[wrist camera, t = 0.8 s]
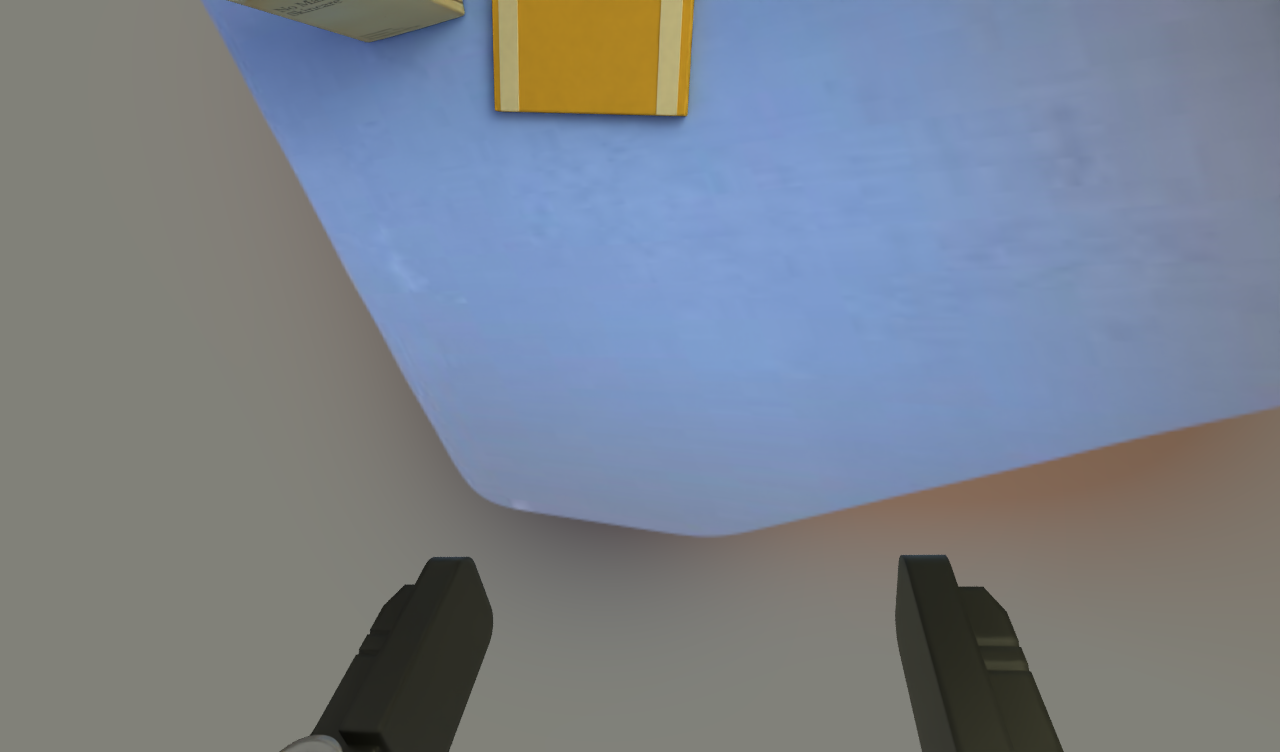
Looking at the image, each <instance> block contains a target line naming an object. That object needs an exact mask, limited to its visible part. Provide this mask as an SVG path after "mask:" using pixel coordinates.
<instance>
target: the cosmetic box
mask: <svg viewBox="0 0 1280 752" xmlns="http://www.w3.org/2000/svg"><path fill="white" fill-rule="evenodd" d="M228 1H231V2H235V3H238V4H241V5H245V6H248V7H252V8H255V9H258V10H262V11H265V12H268V13H271V14H275V15H278V16H281V17H285V18H288V19H292V20H295V21H298V22H301V23H305V24H308V25H311V26H315V27H318V28H321V29H324V30H328V31H331V32H334V33H338V34H341V35H344V36H347V37H351V38H354V39H357V40H361V41H364V42H373V41H377V40H380V39H384V38H388V37H392V36H396V35H399V34H403V33H406V32H410V31H413V30H417V29H420V28H424V27H428V26H431V25H434V24H438V23H441V22H444V21H448V20H451V19H454V18H458V17H461V16H463V15H464V13H465V12H464V6H463V1H462V0H228Z"/></svg>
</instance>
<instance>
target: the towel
mask: <svg viewBox="0 0 1280 752" xmlns="http://www.w3.org/2000/svg"><path fill="white" fill-rule="evenodd" d="M693 10H694V0H492V20H493V60H494V100H495V111H500V112H538V113H576V114H615V115H654V116H687V114H688V97H689V79H690V62H691V45H692V27H693Z"/></svg>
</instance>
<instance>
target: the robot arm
mask: <svg viewBox="0 0 1280 752" xmlns="http://www.w3.org/2000/svg"><path fill="white" fill-rule="evenodd" d="M897 582H898V583H897V596H896V611H895V618H896V619H895V621H896V633H897V641H898V647H899V652H900V656H901V661H902V665H903V670H904V674H905V678H906V682H907V687H908V692H909V695H910V700H911V705H912V708H913V713H914V718H915V722H916V726H917V731H918V736H919V740H920V744H921V748H922V752H1064V751H1063V749H1062V747H1061V744H1060V742H1059V739H1058V737H1057V734H1056V732H1055V729H1054V727H1053V725H1052V722H1051V720H1050V717H1049V715H1048V712H1047V710H1046V707H1045V705H1044V702H1043V700H1042V698H1041V695H1040V693H1039V690H1038V688H1037V685H1036V683H1035V680H1034V678H1033V675H1032V673H1031V672H1030V671H1029V668H1028V663H1027V661H1026V658H1025V656H1024V653H1023V651H1022V648H1021V647H1019V641H1018V638H1017V636H1016V634H1015V631H1014V629H1013V626H1012V624H1011V622H1010V619H1009V616H1008V614H1007V612H1006V611H1005V610H1004V609H1003V608H1002V606H1001V605H1000V604H999V603H998V602H997V601H996V600H995V599H994V598H993V597H992V596H991V595H990V594H989V592H988V591H987V590H986V589H985V588H984V587H958V584H957V582H956V579H955V576H954V573H953V570H952V567H951V564H950V562H949V560H948V558H947V556H946V555H901V556H900V558H899V566H898V581H897ZM492 629H493V614H492V609H491V606H490V603H489V600H488V598H487V595H486V592H485V589H484V587H483V584H482V582H481V579H480V576H479V573H478V571H477V568H476V565H475V563H474V561H473V559H472V558H470V557H433V558H431V559H430V560H429V561H428V562H427V563H426V565H425V567H424V568H423V570H422V572H421V574H420V576H419V578H418V580H417V582H416V583H415V585H404V586H403V587H402V588H401V589H400V590H399V591H398V592H397V593H396V594H395V595H394V596H393V597H392V598H391V599H390V600H389V601H388V602H387V603H386V604H385V605H384V606H383V608H382V609H381V612H380V613H379V615H378V617H377V618H376V620H375V622H374V624H373V626H372V628H371V629H370V634H369V635H367V636H366V638H365V640H364V642H363V643H362V645H361V647H360V649H359V654H358V655H356V656H355V658H354V659H353V661H352V663H351V665H350V667H349V668H348V670H347V672H346V674H345V676H344V677H343V679H342V681H341V683H340V684H339V686H338V688H337V690H336V691H335V693H334V695H333V697H332V699H331V700H330V702H329V704H328V706H327V707H326V710H325V711H324V713H323V715H322V717H321V718H320V720H319V722H318V724H317V725H316V727H315V729H314V730H313V732H312V733H311V735H310V736H308V737H304V738H302V739H299V740H297V741H295V742H293V743H292V744H290V745H288V746H287V747H286V748H284V749H283V750H281V751H280V752H449V749H450V746H451V744H452V741H453V739H454V736H455V733H456V731H457V728H458V725H459V723H460V720H461V717H462V715H463V712H464V709H465V707H466V704H467V701H468V699H469V696H470V693H471V690H472V688H473V685H474V683H475V680H476V677H477V675H478V672H479V669H480V666H481V664H482V661H483V659H484V656H485V653H486V651H487V648H488V645H489V643H490V639H491V635H492Z"/></svg>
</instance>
